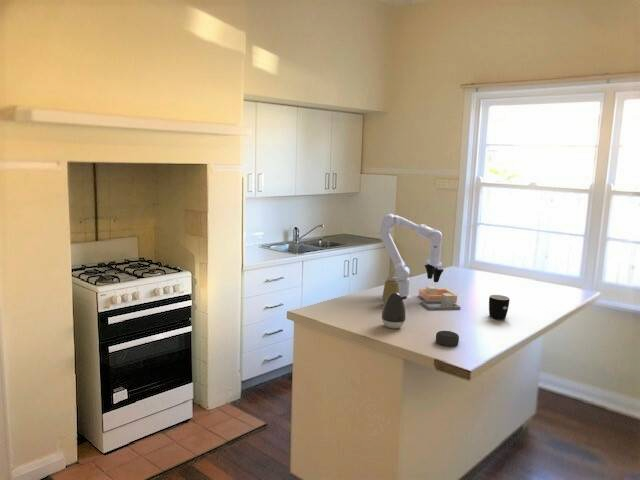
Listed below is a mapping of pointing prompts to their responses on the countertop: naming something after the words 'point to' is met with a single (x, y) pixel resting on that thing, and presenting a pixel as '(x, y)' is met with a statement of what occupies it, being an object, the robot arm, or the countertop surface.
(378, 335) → the countertop surface
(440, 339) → the smart speaker
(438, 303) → the stone tray
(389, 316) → the pump dispenser
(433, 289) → the block
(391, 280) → the squeeze bottle
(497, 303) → the mug
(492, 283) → the countertop surface
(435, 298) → the bin
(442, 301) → the stone right
